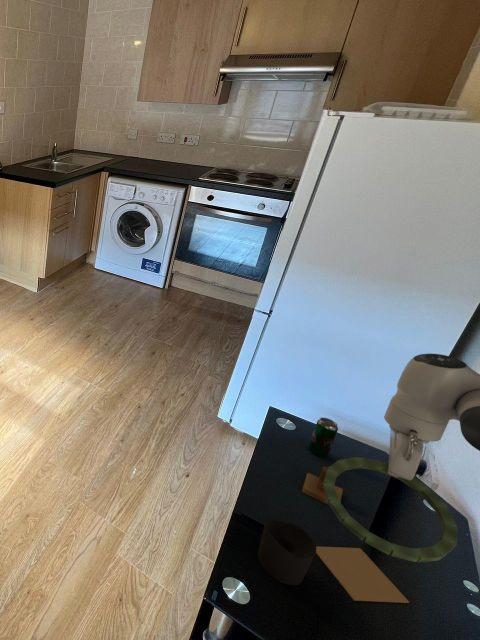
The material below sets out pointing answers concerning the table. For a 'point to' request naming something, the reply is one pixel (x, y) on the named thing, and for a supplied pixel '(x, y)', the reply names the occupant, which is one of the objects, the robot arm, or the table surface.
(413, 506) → the table surface
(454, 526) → the ring
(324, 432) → the soda can
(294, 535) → the pen holder
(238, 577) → the table surface
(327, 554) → the mat
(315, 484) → the peg stand
